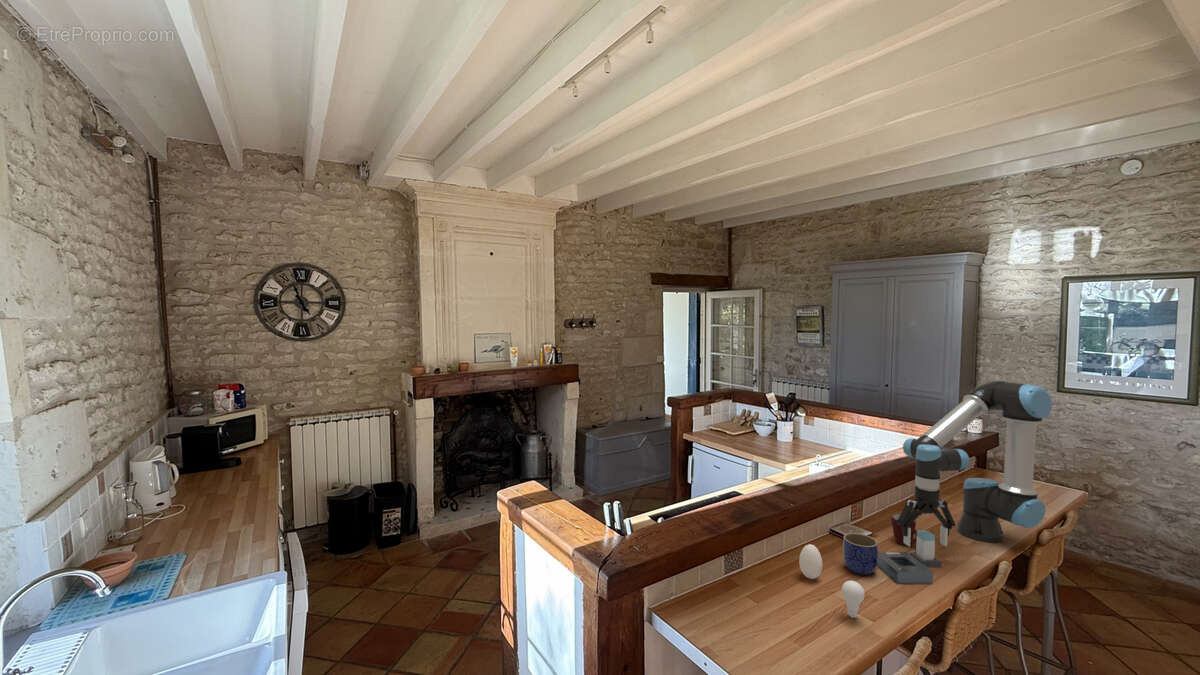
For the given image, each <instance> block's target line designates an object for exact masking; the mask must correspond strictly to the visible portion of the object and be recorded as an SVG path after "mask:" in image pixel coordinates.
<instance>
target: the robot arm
mask: <svg viewBox="0 0 1200 675" xmlns="http://www.w3.org/2000/svg"><path fill="white" fill-rule="evenodd" d="M1052 407H1053V401H1052V398H1051V396H1050V394H1049V392H1047V390H1046V389H1045V388H1043V387H1041V386H1039V385H1038V386H1037V385H1032V384H1028V383H1019V382H1018V383H1017V382H1009V381H1004V380H995V381H994V380H993V381H990V382H989V381H988V382H987V383H984V384H981V385H979V386H977V387H975V388H973V389H972V390H970V391H969V392H968V393H966V394H965V395H964V396H963V397H962V401H961V402H960V403H959V404H958V405H957V406H955V407H954V408H953V409H951V410H950V412H948V413H947V414H946V415H944V416H943V417H942V418H941V419H940V420H939V421H937V422H936V423H934V425H933V426H931V427H930V428H928V430H927V431H925V432H924V433H923V434H921V436H919V437H918V438H912V437H911V438H906V440H905V441H904V442H903V444H902V450H903V453H904V454H905V455H906V456H908V457H910V458H911V459H915V479H914V480H915V482H914V483H915V484H914V485H915V487H914V497H915V498H914V500H911V499H906V500H905V506H904V507H903V509H902V511H901V513H900V514H901V515H900V517H899V518H898V520H897V524H899V525H900V526H902V535H904V543H905V544H906V545H905V546H908V547H911V542H910V539H911V528H909V526H910V525H911V524H912V523H913V522H914V521H915V520H917V519H918V518H919V517H920V516H922V514H924V515H926V514H930V515H931V514H932V515H934V516H935V517H936V519H938V521H939V522H940V523H941V524H942V525H940V527H939V529H940V530H939V531H940V532H939V534H940V535H939V543H940V544H941V545H943V546H945V547H948V537H949V536H950V531H951V530H952V529H953V527H956V528H957V532H958V533H959V534H961V535H963V536H965V537H967V538H970V539H973V540H975V541H980V542H981V541H982V542H985V543H986V542H987V543H1001V542H1003V541H1004V531H1003V529H1002V525H1001V523H1000V520H999V519H1001V520H1003V521H1006V522H1008V523H1011V524H1013V525H1016V526H1019V527H1023V528H1025V529H1030V528H1031V529H1032V528H1034V527H1036V526H1038V525H1039V524H1040V523H1041V522H1042V520H1044V517H1045V515H1046V505H1045V504H1044V502H1043V501H1042V500H1040V499H1038V496H1039V495H1038V494H1039V492H1038V491H1037V490H1036V489H1035V488H1034V471H1035V470H1034V468H1035V454H1036V440H1037V439H1036V436H1037V426H1038V425H1039V424H1040V423H1041V424H1042V423H1043V418H1047V417H1048V416H1049V415H1050V413H1051V411H1052V409H1053V408H1052ZM996 410H997V411H1001V412H1002V414H1001V417H1002V419H1004V420H1005V422H1006V432H1005V449H1004V466H1003V480H1002V481H1003V482H1001V483H1000V481H998V480H995V479H992V478H984V477H968V478H967V479H965V480H964V482H963V489H962V490H963V496H962V497H963V498H962V503H963V504H962V508H963V509H962V514H961V516H960V518H959V521H958V522H957V526H956V522H955V520H954V519H953V516H952V514H951V511H950V509H949V508H948V507H949V506H948V502H947V501H946V500H944V499H940V492H941V491H940V489H941V488H940V487H941V472H948V471H949V472H950V471H951V472H952V471H960V470H966V469H967V468H969V466H970V461H971V460H970V457H969V455H968V453H967V452H966V451H965V450H963V449H960V448H948V447H947V448H946V447H944V446H945V445H946V444H947V443H949V442H950V441H951V440H952V439H953V438H955V437H956V436H957V435H958V434H959V433H961V432H962V431H963V430H964V429H965V428H967V427H968V426H969V425H970V424H971V423H972V422H974V421H975V420H976V419H977V418H979V417H980V416H982V415H986V414H988V413H989V412H991V411H996ZM939 507H940V509H941V511H942V513H943V515H942V513H941V512H940V511H939V509H938V508H939Z"/></svg>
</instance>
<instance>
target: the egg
mask: <svg viewBox="0 0 1200 675" xmlns="http://www.w3.org/2000/svg"><path fill="white" fill-rule="evenodd" d="M798 560H799V562H798V563H799V568H800V570H801V573H802V574H803V575H804V576H805V577H806V578H807V579H810V580H815V579H816V578H818V577H819V576H820V575H821V573H822V570H823V559H822V556H821V553H820V551H819V549H818V548H817V547H816V545H814V544H810V543H809V544H807V545H806V544H805V546H804V547H803V548H802V550H801V552H800V553H799V559H798Z"/></svg>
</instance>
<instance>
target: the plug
mask: <svg viewBox="0 0 1200 675" xmlns="http://www.w3.org/2000/svg"><path fill="white" fill-rule="evenodd" d="M935 541H936V535H935V534H933V533H932V532H930V531H929V530H917V541H916V542H915V543H916V544H915V545H916V546H915V548H916V549H915V552H916V555H917V556H918V557H919V558H921V559H922V560H934V557H935V552H936V551H935V550H936V548H935V547H936V546H935V544H936V542H935Z"/></svg>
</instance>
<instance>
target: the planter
mask: <svg viewBox="0 0 1200 675" xmlns="http://www.w3.org/2000/svg"><path fill="white" fill-rule="evenodd" d="M842 540H843V541H842V550H843V551H842V554H843V555H842V556H843V562H844V564H845V566H846V567H847V569H848V570H850V571H851V572H853V573H854V574H858V575H863V576H867V575H871V574H873V573H874V572H875V571H876V569H877V567H878V566H877V557H878V552H879V550H878V548H879V543H878V541H877V540H876V539H875V538H874V537H872V536H870V535H867V534H863V533H858V532H850V533H846V534H844V535H843V539H842Z"/></svg>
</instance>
